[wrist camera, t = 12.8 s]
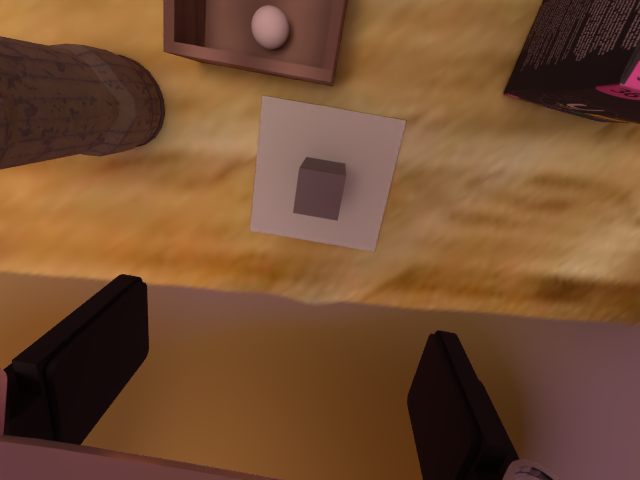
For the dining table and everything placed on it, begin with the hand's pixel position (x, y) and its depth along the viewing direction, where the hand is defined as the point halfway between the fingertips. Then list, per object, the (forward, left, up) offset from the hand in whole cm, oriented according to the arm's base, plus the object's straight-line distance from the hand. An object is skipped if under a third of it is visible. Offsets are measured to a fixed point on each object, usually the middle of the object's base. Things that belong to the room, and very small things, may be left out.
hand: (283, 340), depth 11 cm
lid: (0, 0, -28) cm, 28 cm away
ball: (+7, -12, -26) cm, 30 cm away
